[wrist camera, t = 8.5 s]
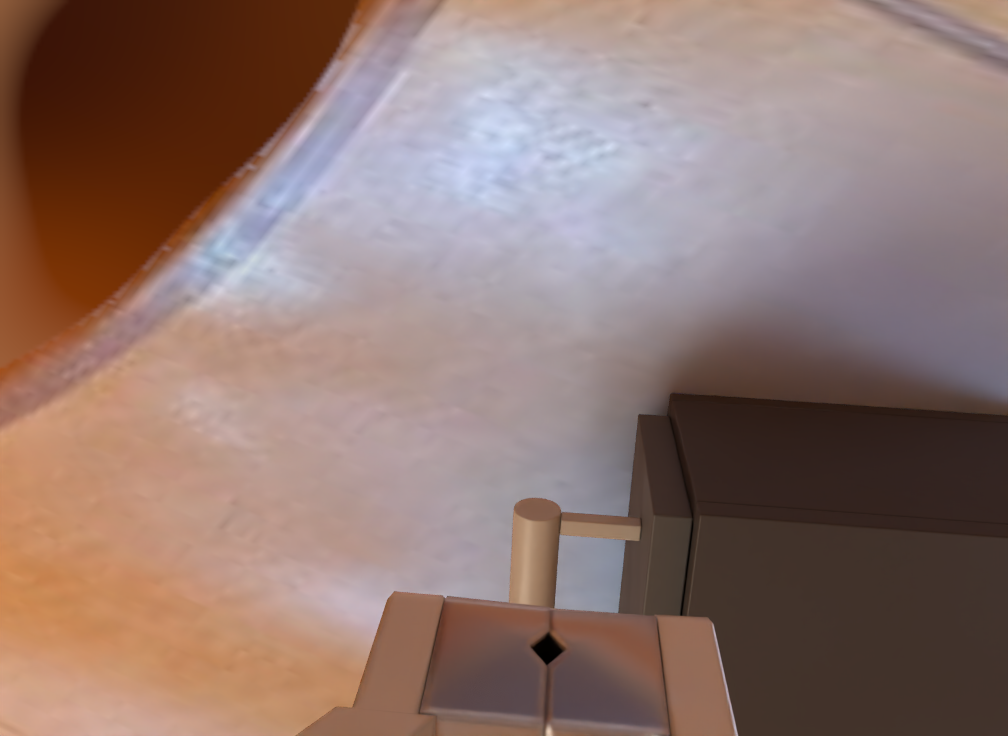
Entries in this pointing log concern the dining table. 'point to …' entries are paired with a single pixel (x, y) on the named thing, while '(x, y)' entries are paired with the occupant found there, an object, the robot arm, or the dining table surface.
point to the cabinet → (850, 564)
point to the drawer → (617, 532)
